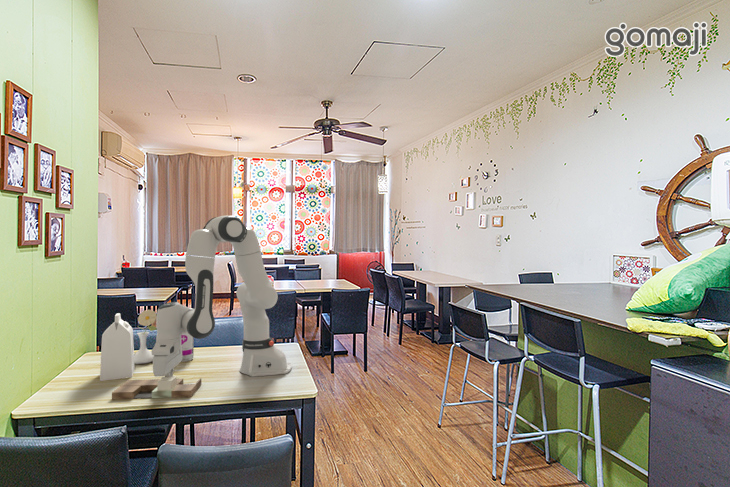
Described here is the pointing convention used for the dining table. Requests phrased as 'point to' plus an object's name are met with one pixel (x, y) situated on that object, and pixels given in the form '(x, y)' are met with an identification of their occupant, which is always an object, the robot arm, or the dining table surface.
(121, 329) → the milk
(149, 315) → the flower in vase
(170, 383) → the cream block
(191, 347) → the supplement can
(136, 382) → the board
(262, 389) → the dining table surface
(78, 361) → the dining table surface
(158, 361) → the robot arm
